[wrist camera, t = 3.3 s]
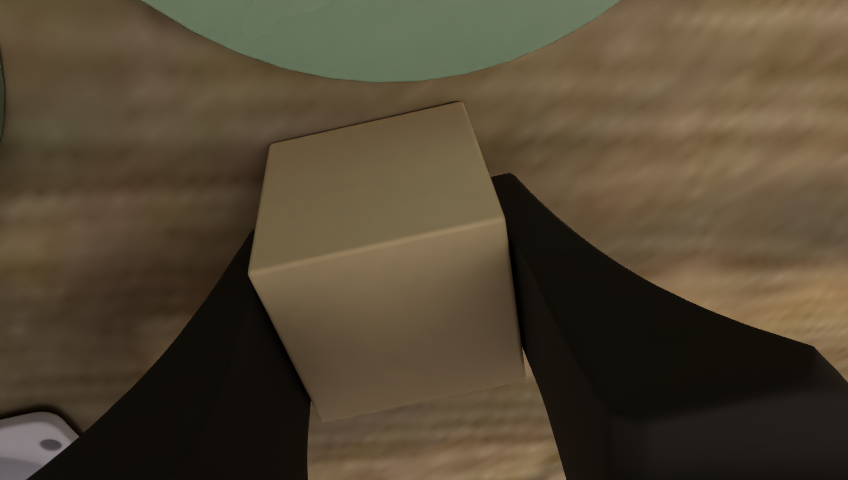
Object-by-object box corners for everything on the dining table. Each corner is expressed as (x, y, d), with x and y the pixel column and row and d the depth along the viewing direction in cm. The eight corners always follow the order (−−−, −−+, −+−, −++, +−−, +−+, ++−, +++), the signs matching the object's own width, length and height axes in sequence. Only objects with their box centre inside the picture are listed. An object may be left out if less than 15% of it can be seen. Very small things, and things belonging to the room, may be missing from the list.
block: (486, 249, 15) (526, 382, 12) (324, 284, 15) (322, 425, 12) (462, 98, 12) (506, 217, 9) (268, 143, 12) (245, 274, 9)
